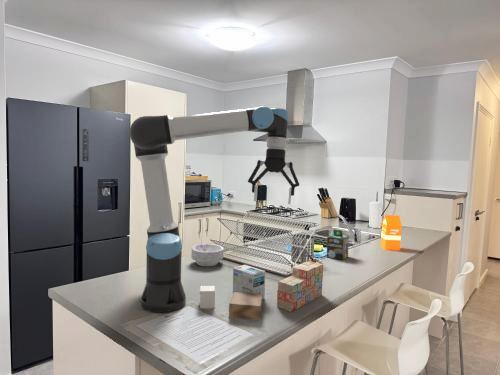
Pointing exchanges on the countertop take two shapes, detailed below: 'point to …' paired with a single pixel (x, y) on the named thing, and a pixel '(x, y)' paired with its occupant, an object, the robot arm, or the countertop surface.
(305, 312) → the countertop surface
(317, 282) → the stack of blocks
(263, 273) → the light bulb box
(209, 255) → the paper bowls
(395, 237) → the orange juice
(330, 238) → the chalk box
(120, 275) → the countertop surface
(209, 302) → the off-white block
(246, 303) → the walnut block
